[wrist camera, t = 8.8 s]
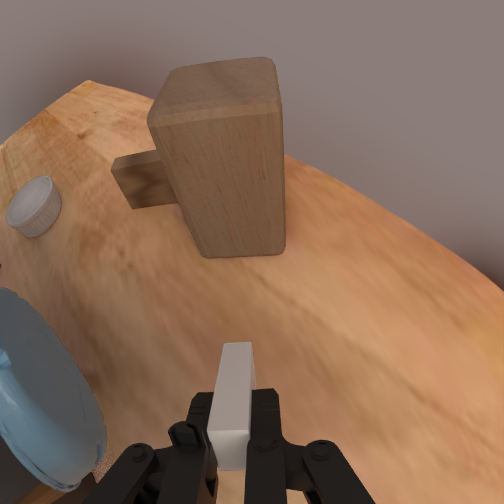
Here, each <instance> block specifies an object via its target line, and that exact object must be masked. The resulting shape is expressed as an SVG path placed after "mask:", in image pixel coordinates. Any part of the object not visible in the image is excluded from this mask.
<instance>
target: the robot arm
mask: <svg viewBox="0 0 504 504" xmlns="http://www.w3.org/2000/svg"><path fill="white" fill-rule="evenodd" d="M256 383H257V380H256V373H255V365H254V356H253V348H252V341H249V342H235V343H224V345H223V350H222V355H221V360H220V365H219V370H218V375H217V380H216V386H215V391H214V392H198V393H197V394H196V395H195V397H194V398H193V399H192V401H191V405H190V408H189V412H188V415H187V419H186V421H181V422H178V423H175V424H174V425H173V426H171V427H170V428H169V430H168V434H169V436H170V438H171V441H172V443H173V445H172V446H170V447H167V448H162V449H155V450H153V449H152V447H151V446H149V445H147V444H143V443H137V444H133V445H131V446H129V447H128V448H126V449H125V450H124V452H123V453H122V454H121V455H120V457H119V458H118V459H117V460H116V462H115V463H114V464H113V465H112V467H111V468H110V469H109V470H108V472H107V473H106V474H105V475H104V477H103V478H102V479H101V480H100V481H99V483H98V484H97V485H96V482H95V480H94V477H93V475H92V473H91V471H92V470H93V469H94V468H95V467H97V466H98V465H99V463H100V462H101V460H102V459H103V457H104V455H105V452H106V447H107V433H106V427H105V423H104V419H103V416H102V413H101V410H100V408H99V406H98V403H97V401H96V399H95V397H94V394H93V392H92V390H91V388H90V387H89V385H88V383H87V381H86V379H85V378H84V376H83V375H82V373H81V371H80V369H79V368H78V366H77V364H76V363H75V361H74V360H73V358H72V357H71V355H70V354H69V352H68V351H67V349H66V348H65V346H64V345H63V344H62V342H61V341H60V339H59V338H58V337H57V335H56V334H55V333H54V331H53V330H52V329H51V327H50V326H49V325H48V324H47V323H46V321H45V320H44V319H43V318H42V317H41V315H40V314H39V313H38V312H37V311H36V310H35V309H34V308H33V307H32V306H31V305H30V304H29V303H28V302H27V301H26V300H24V299H20V298H19V297H18V295H17V294H16V293H15V292H13V291H11V290H9V289H7V288H3V287H0V504H216V497H217V489H218V475H217V465H218V467H219V470H246V476H245V496H244V504H287V494H286V489H291V490H297V491H303V494H304V496H305V498H306V500H307V502H308V504H376V503H375V502H374V500H373V499H372V498H371V496H370V495H369V493H368V492H367V490H366V489H365V487H364V486H363V484H362V483H361V481H360V480H359V478H358V477H357V475H356V474H355V472H354V471H353V469H352V468H351V466H350V465H349V463H348V462H347V460H346V459H345V457H344V456H343V454H342V452H341V451H340V449H339V448H338V446H336V445H335V444H334V443H333V442H330V441H328V440H317V441H313V442H311V443H309V444H308V445H307V446H299V445H294V444H291V443H289V442H288V441H286V440H285V439H284V437H283V435H282V430H281V418H280V406H279V395H278V394H277V392H276V391H275V390H274V388H270V389H257V390H256Z"/></svg>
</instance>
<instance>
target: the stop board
mask: <svg viewBox="0 0 504 504" xmlns="http://www.w3.org/2000/svg"><path fill="white" fill-rule="evenodd" d="M110 171H111V173H112V174H113V176H114V178H115V180H116V182H117V183H118V185H119V187H120V189H121V190H122V192H123V194H124V195H125V197H126V199H127V201H128V202H129V204H130V206H131V207H132V209H137V208H143V207H150V206H157V205H164V204H172V203H179V202H178V200H177V198H176V195H175V193H174V190H173V188H172V186H171V183H170V181H169V178H168V176H167V173H166V171H165V168H164V166H163V163H162V161H161V158H160V156H159V153H158V151H157V149H156V150H151V151H146V152H141V153H136V154H132V155H127V156H122V157H118V158H115V160H114V163H113V165H112V168H111V170H110Z"/></svg>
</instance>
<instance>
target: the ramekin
mask: <svg viewBox="0 0 504 504" xmlns="http://www.w3.org/2000/svg"><path fill="white" fill-rule="evenodd" d="M60 209H61V200H60V197H59V195H58V193H57V190H56V188H55V185H54V182H53V180H52V179H51V178H50V177H49V176H40V177H37V178H35V179H33V180H31V181H30V182H28V183H27V184H26V185H25V186H23V187H22V188H21V189H20V190H19V191H18V193H17V194H16V195H15V196H14V198H13V199H12V201H11V203H10V205H9V207H8V210H7V214H6V221H7V223H8V224H9V226H10V227H12V228H15V229H16V230H17V231H19V232H20V233H22V234H23V235H24V236H26V237H37V236H39V235H41V234H43V233H44V232H45V231H47V230H48V229H49V228H50V227H51V226H52V225H53V223H54V222H55V220H56V219H57V217H58V215H59V212H60Z"/></svg>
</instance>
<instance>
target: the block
mask: <svg viewBox="0 0 504 504" xmlns="http://www.w3.org/2000/svg"><path fill="white" fill-rule="evenodd" d="M147 124H148V128H149V130H150V133H151V136H152V138H153V141H154V143H155V146H156V148H157V151H158V153H159V156H160V158H161V161H162V163H163V166H164V168H165V171H166V173H167V176H168V178H169V181H170V183H171V186H172V188H173V190H174V193H175V195H176V198H177V200H178V202H179V205H180V207H181V209H182V212H183V214H184V216H185V219H186V221H187V223H188V226H189V228H190V230H191V233H192V235H193V237H194V239H195V242H196V244H197V246H198V248H199V251H200V253H201V255H202V256H203V257H206V258H226V257H247V256H267V255H279V254H281V253H283V251H284V249H285V246H286V244H285V178H284V144H283V118H282V103H281V97H280V91H279V85H278V79H277V73H276V67H275V64H274V63H273V61H272V59H270V58H266V57H254V58H243V59H234V60H225V61H216V62H209V63H202V64H196V65H190V66H185V67H179V68H176V69H175V70H173V71H171V72H170V74H169V76H168V77H167V79H166V81H165V83H164V85H163V87H162V88H161V90H160V92H159V94H158V96H157V97H156V99H155V101H154V103H153V105H152V107H151V109H150V111H149V113H148V117H147Z"/></svg>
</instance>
